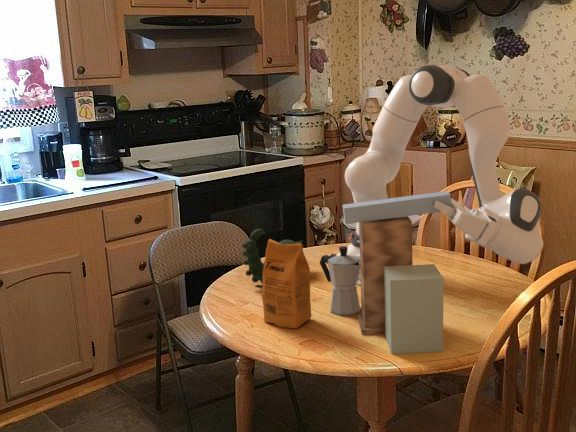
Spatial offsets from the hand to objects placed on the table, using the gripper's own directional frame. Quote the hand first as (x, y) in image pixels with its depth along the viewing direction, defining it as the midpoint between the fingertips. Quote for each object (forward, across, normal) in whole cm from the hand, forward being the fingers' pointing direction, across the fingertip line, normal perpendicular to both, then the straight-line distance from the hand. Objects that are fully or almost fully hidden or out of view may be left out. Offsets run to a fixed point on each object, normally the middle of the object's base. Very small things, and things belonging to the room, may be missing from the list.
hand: (432, 200), depth 160 cm
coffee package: (+16, -5, +47) cm, 50 cm away
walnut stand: (-6, 0, +34) cm, 34 cm away
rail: (+6, 0, +7) cm, 9 cm away
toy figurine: (+19, -39, +49) cm, 65 cm away
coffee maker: (+3, -12, +39) cm, 41 cm away
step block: (-10, +12, +31) cm, 35 cm away
